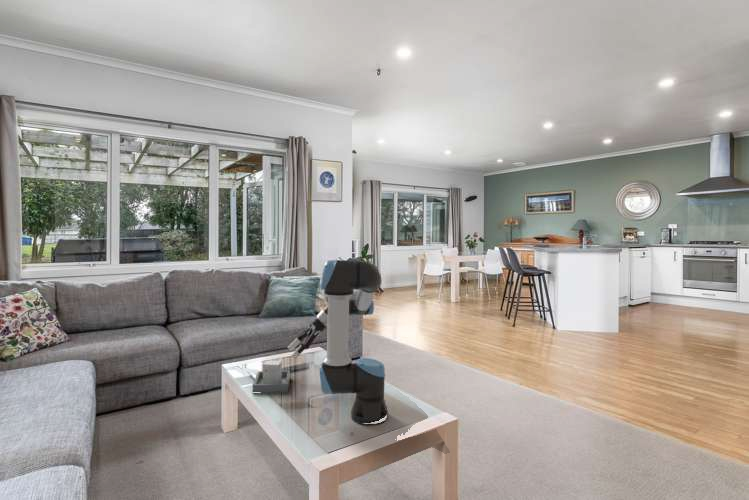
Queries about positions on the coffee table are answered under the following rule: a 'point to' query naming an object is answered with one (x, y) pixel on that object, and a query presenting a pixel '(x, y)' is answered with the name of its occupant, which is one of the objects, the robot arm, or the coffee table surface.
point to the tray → (271, 388)
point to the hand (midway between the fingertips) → (291, 353)
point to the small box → (272, 372)
